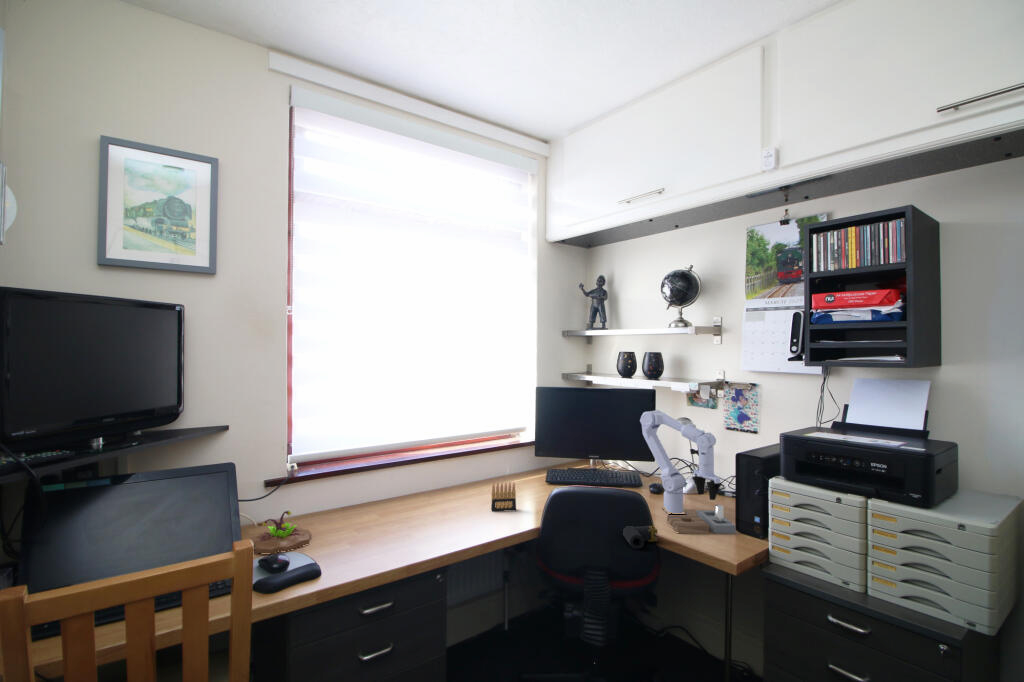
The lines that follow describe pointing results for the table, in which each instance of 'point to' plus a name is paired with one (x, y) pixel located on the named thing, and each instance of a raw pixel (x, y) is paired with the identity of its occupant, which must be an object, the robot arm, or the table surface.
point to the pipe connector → (639, 535)
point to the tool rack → (715, 527)
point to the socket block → (688, 524)
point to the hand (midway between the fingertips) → (706, 496)
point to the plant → (281, 537)
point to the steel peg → (719, 513)
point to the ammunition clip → (503, 498)
